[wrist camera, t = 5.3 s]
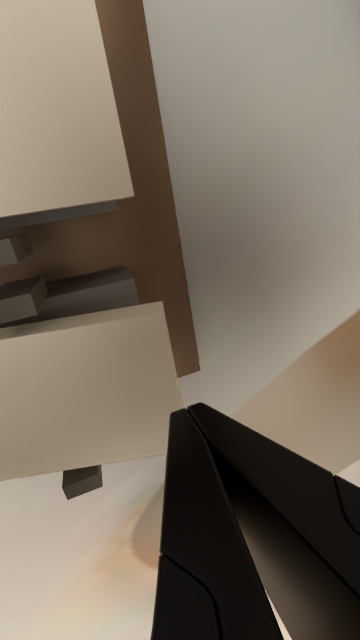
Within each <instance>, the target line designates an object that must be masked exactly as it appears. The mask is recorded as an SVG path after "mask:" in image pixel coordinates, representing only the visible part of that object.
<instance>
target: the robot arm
mask: <svg viewBox="0 0 360 640" xmlns="http://www.w3.org/2000/svg"><path fill="white" fill-rule="evenodd" d="M163 501H164V502H163V513H162V527H161V540H160V556H159V563H158V576H157V587H156V597H155V606H154V616H153V626H152V633H151V639H150V640H284V638H283V636H282V633H281V631H280V628H279V626H278V623H277V620H276V618H275V615H274V613H273V610H272V608H271V605H270V602H269V600H268V597H267V595H266V592H267V594H268V596H269V598H270V600H271V601H272V603H273V605H274V607H275V609H276V611H277V612H278V614H279V616H280V618H281V620H282V622H283V624H284V625H285V627H286V629H287V631H288V633H289V635H290V637H291V638H292V640H360V487H358V486H356V485H354V484H352V483H350V482H348V481H346V480H345V479H343V478H341V477H339V476H337V475H334V476H333V474H332V473H331V472H330V471H328V470H326V469H324V468H322V467H320V466H318V465H317V464H315V463H313V462H311V461H309V460H307V459H305V458H304V457H302V456H300V455H298V454H296V453H295V452H293V451H291V450H289V449H287V448H285V447H283V446H282V445H280V444H278V443H276V442H274V441H272V440H271V439H269V438H267V437H265V436H263V435H261V434H259V433H258V432H256V431H254V430H252V429H250V428H248V427H247V426H244V425H243V424H241V423H239V422H237V421H236V420H233V419H232V418H230V417H228V416H226V415H224V414H223V413H221V412H219V411H217V410H215V409H213V408H212V407H210V406H208V405H206V404H204V403H201V402H200V403H197V404H194V405H191V406H188V407H187V409H185V408H182V409H179V410H176V411H174V412H171V413H170V419H169V432H168V446H167V459H166V472H165V486H164V500H163ZM264 588H265V590H266V592H265V590H264Z"/></svg>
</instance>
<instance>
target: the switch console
mask: <svg viewBox="0 0 360 640" xmlns="http://www.w3.org/2000/svg"><path fill="white" fill-rule="evenodd" d="M95 5H96V10H97V15H98V20H99V24H100V29H101V34H102V39H103V44H104V49H105V54H106V59H107V64H108V69H109V73H110V78H111V83H112V88H113V93H114V98H115V103H116V108H117V113H118V118H119V122H120V127H121V132H122V137H123V142H124V147H125V152H126V157H127V162H128V167H129V172H130V176H131V181H132V186H133V191H134V196H133V197H129V198H125V199H120V200H114V201H107V202H101V203H95V204H88V205H82V206H76V207H69V208H63V209H57V210H50V211H44V212H38V213H31V214H25V215H19V216H12V217H6V218H0V328H6V327H12V326H18V325H23V324H29V323H35V322H41V321H47V320H53V319H59V318H65V317H71V316H77V315H82V314H88V313H94V312H100V311H106V310H112V309H118V308H124V307H130V306H135V305H141V304H147V303H153V302H159V301H162V302H163V307H164V312H165V317H166V322H167V328H168V333H169V338H170V343H171V348H172V353H173V358H174V363H175V369H176V374H177V378H178V377H181V376H184V375H188V374H191V373H194V372H197V371H200V365H199V359H198V352H197V346H196V340H195V333H194V327H193V320H192V314H191V308H190V301H189V295H188V288H187V282H186V276H185V269H184V263H183V257H182V250H181V244H180V237H179V231H178V225H177V218H176V212H175V206H174V199H173V193H172V186H171V180H170V174H169V167H168V161H167V155H166V148H165V142H164V135H163V129H162V123H161V116H160V110H159V103H158V97H157V91H156V84H155V78H154V72H153V65H152V59H151V52H150V46H149V40H148V33H147V27H146V21H145V14H144V8H143V1H142V0H95ZM100 487H102V472H101V465H95V466H89V467H83V468H77V469H71V470H64V471H63V484H62V489H63V491H64V493H65V495H66V497H67V500H69V499H71V498H74V497H76V496H79V495H82V494H84V493H87V492H89V491H92V490H95V489H97V488H100Z"/></svg>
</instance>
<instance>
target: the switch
mask: <svg viewBox="0 0 360 640" xmlns="http://www.w3.org/2000/svg"><path fill="white" fill-rule="evenodd" d="M182 408H183V404H182V399H181V394H180V389H179V384H178V379H177V374H176V369H175V363H174V358H173V353H172V348H171V343H170V338H169V333H168V328H167V322H166V317H165V312H164V307H163V302H162V301H159V302H153V303H147V304H141V305H135V306H130V307H124V308H118V309H112V310H106V311H100V312H94V313H88V314H82V315H77V316H71V317H65V318H59V319H53V320H47V321H41V322H35V323H29V324H23V325H18V326H12V327H6V328H0V481H3V480H9V479H15V478H21V477H27V476H33V475H40V474H46V473H52V472H58V471H64V470H71V469H77V468H83V467H89V466H95V465H102V464H108V463H114V462H120V461H126V460H133V459H139V458H145V457H151V456H157V455H164V454H167V446H168V432H169V419H170V413H171V412H174V411H176V410H179V409H182Z"/></svg>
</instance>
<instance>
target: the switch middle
mask: <svg viewBox="0 0 360 640" xmlns="http://www.w3.org/2000/svg"><path fill="white" fill-rule="evenodd" d="M133 196H134V191H133V186H132V181H131V176H130V172H129V167H128V162H127V157H126V152H125V147H124V142H123V137H122V132H121V127H120V122H119V118H118V113H117V108H116V103H115V98H114V93H113V88H112V83H111V78H110V73H109V69H108V64H107V59H106V54H105V49H104V44H103V39H102V34H101V29H100V24H99V20H98V15H97V10H96V5H95V0H0V218H6V217H12V216H19V215H25V214H31V213H38V212H44V211H50V210H57V209H63V208H69V207H76V206H82V205H88V204H95V203H101V202H107V201H114V200H120V199H125V198H129V197H133Z"/></svg>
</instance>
